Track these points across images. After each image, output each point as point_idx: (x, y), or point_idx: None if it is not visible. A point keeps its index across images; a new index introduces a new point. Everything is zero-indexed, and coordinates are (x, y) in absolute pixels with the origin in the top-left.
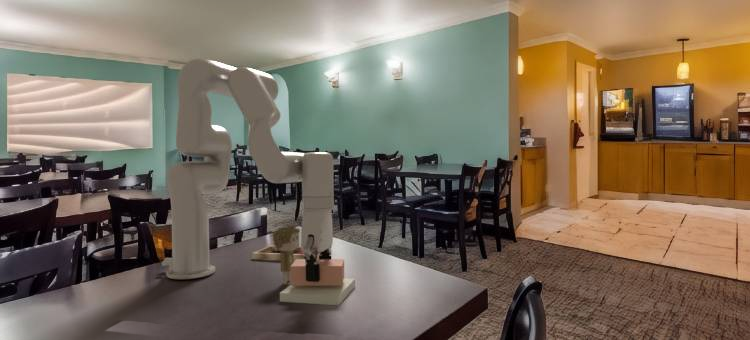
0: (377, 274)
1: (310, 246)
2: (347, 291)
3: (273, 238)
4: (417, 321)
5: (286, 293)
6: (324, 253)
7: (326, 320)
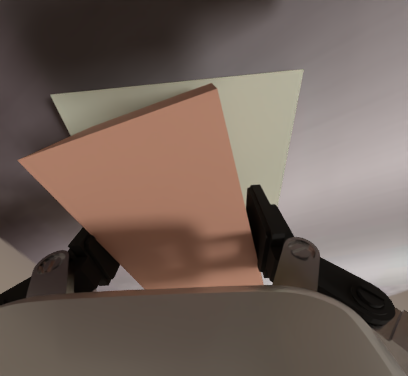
0: (371, 241)
1: None
2: None
3: None
4: None
5: (66, 124)
6: (275, 270)
7: (62, 241)
